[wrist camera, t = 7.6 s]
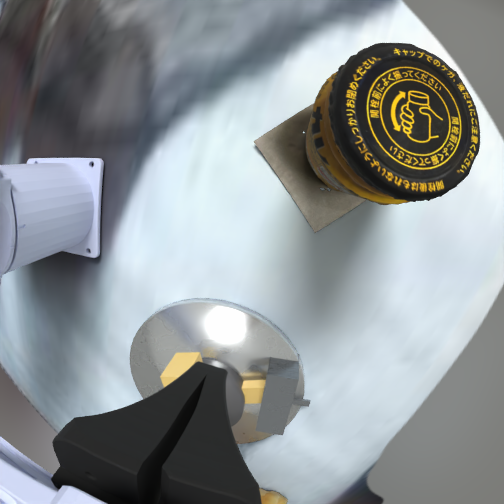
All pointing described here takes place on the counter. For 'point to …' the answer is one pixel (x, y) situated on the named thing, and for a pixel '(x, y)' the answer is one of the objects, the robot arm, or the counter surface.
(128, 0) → the counter surface
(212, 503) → the robot arm
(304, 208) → the condiment
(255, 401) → the multicoloured piece
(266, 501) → the pastry
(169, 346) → the post plate
